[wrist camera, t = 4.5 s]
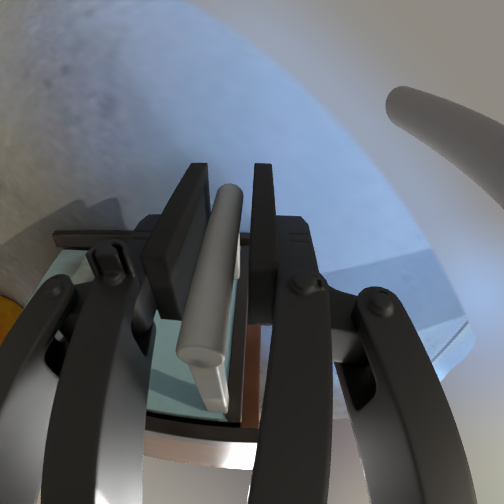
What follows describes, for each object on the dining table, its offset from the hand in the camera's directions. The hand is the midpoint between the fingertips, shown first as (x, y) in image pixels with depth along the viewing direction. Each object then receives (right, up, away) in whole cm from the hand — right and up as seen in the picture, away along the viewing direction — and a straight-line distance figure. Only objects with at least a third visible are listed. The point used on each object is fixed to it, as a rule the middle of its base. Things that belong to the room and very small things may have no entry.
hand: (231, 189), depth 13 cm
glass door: (-3, -1, +3) cm, 4 cm away
